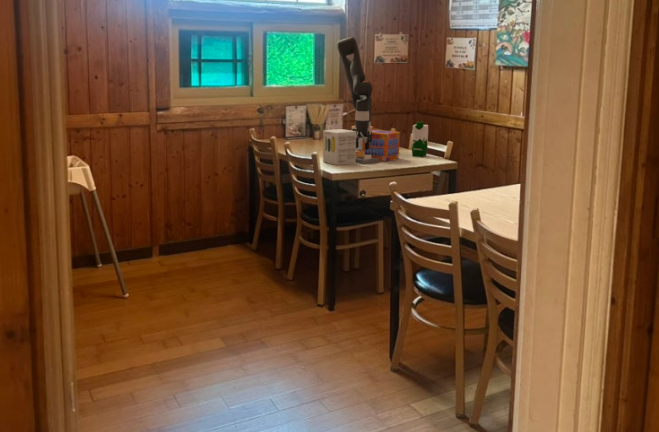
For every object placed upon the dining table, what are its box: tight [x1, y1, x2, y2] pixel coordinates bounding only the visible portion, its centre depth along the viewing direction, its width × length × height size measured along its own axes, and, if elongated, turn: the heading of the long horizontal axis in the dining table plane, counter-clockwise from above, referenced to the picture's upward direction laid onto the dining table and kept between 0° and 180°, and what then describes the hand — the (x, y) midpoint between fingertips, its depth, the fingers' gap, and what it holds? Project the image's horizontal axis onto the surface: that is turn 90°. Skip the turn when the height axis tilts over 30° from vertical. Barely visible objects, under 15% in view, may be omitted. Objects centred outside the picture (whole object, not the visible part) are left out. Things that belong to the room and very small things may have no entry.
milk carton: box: [411, 121, 429, 158], centre depth 413 cm, size 9×9×20 cm
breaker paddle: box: [356, 150, 365, 157], centre depth 394 cm, size 5×2×3 cm, turn 128°
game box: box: [361, 129, 401, 163], centre depth 402 cm, size 16×16×16 cm
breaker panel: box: [355, 155, 380, 165], centre depth 394 cm, size 11×18×4 cm, turn 38°
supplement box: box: [322, 128, 357, 166], centre depth 387 cm, size 13×13×18 cm
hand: (361, 148), depth 393 cm, fingers open, 8 cm apart
